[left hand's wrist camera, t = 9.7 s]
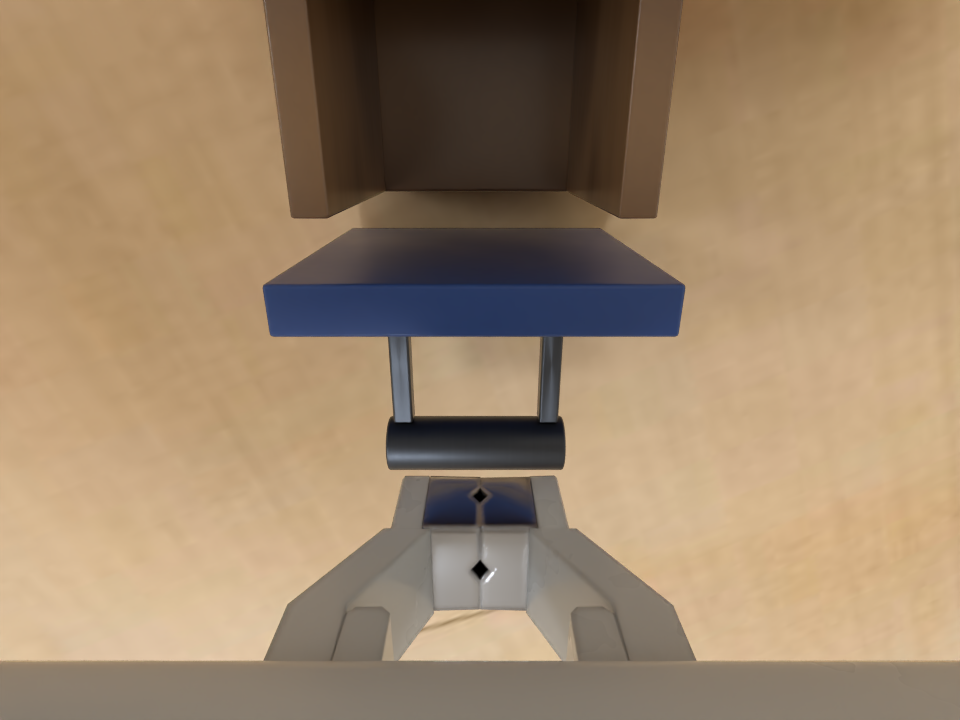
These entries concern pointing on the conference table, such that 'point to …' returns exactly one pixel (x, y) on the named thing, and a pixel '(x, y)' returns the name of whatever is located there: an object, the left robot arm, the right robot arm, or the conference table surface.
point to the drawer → (473, 188)
